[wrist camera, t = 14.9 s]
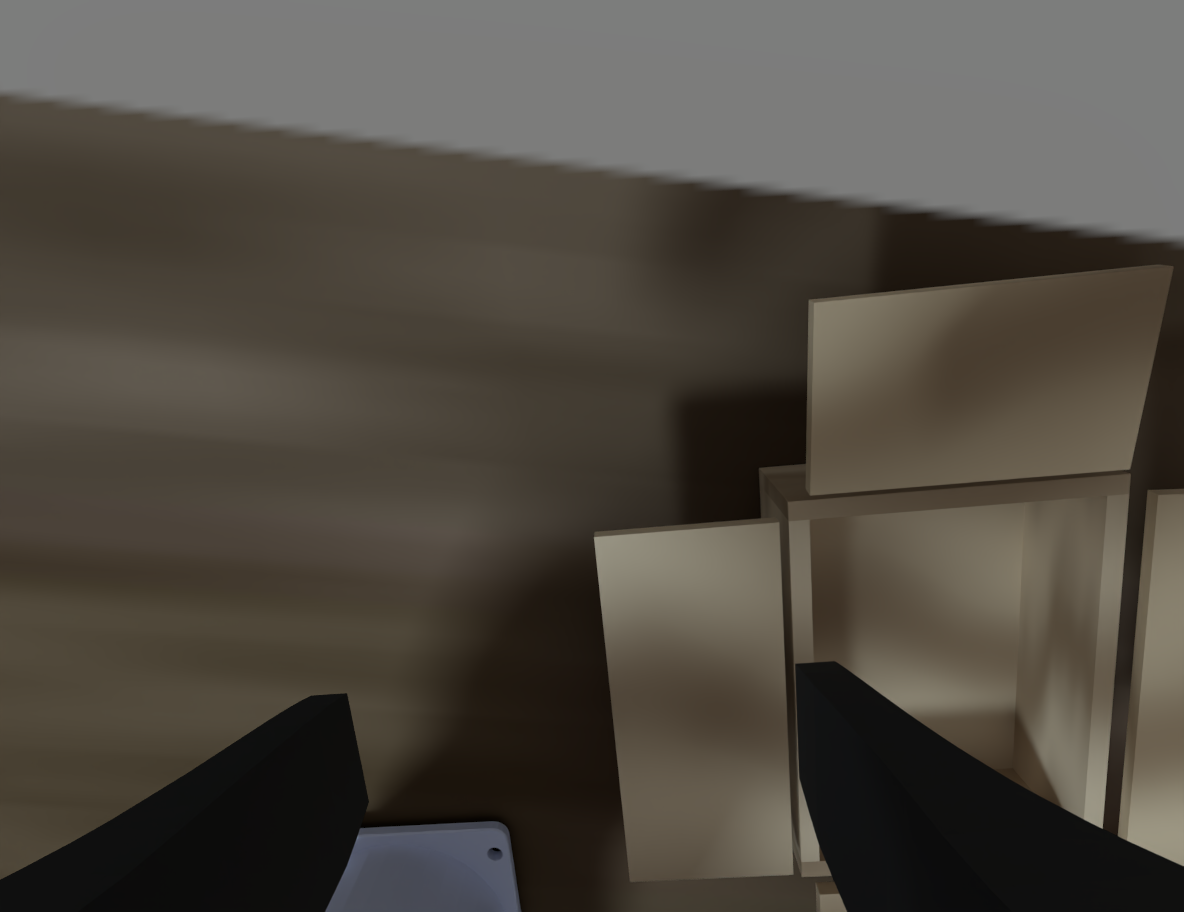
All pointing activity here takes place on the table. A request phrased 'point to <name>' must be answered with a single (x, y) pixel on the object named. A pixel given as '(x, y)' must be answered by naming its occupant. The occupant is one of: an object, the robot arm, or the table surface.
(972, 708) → the carton
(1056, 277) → the flap
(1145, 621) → the flap
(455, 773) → the table surface
